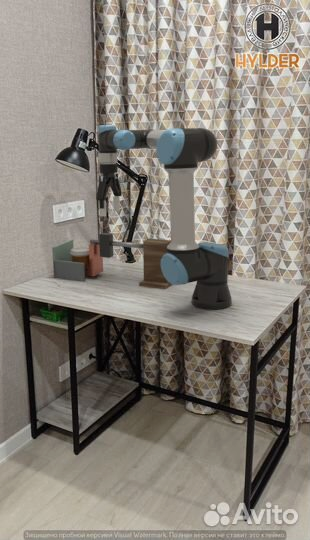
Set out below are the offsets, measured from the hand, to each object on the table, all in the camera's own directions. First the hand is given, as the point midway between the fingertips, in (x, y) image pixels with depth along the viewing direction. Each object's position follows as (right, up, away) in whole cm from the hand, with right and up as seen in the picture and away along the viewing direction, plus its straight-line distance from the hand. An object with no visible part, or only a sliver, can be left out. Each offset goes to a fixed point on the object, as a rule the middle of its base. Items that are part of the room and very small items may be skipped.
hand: (110, 213), depth 229 cm
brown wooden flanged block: (+20, -30, -1) cm, 36 cm away
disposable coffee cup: (-14, -27, +12) cm, 32 cm away
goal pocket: (-16, -26, +13) cm, 33 cm away
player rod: (+4, -27, +5) cm, 28 cm away
